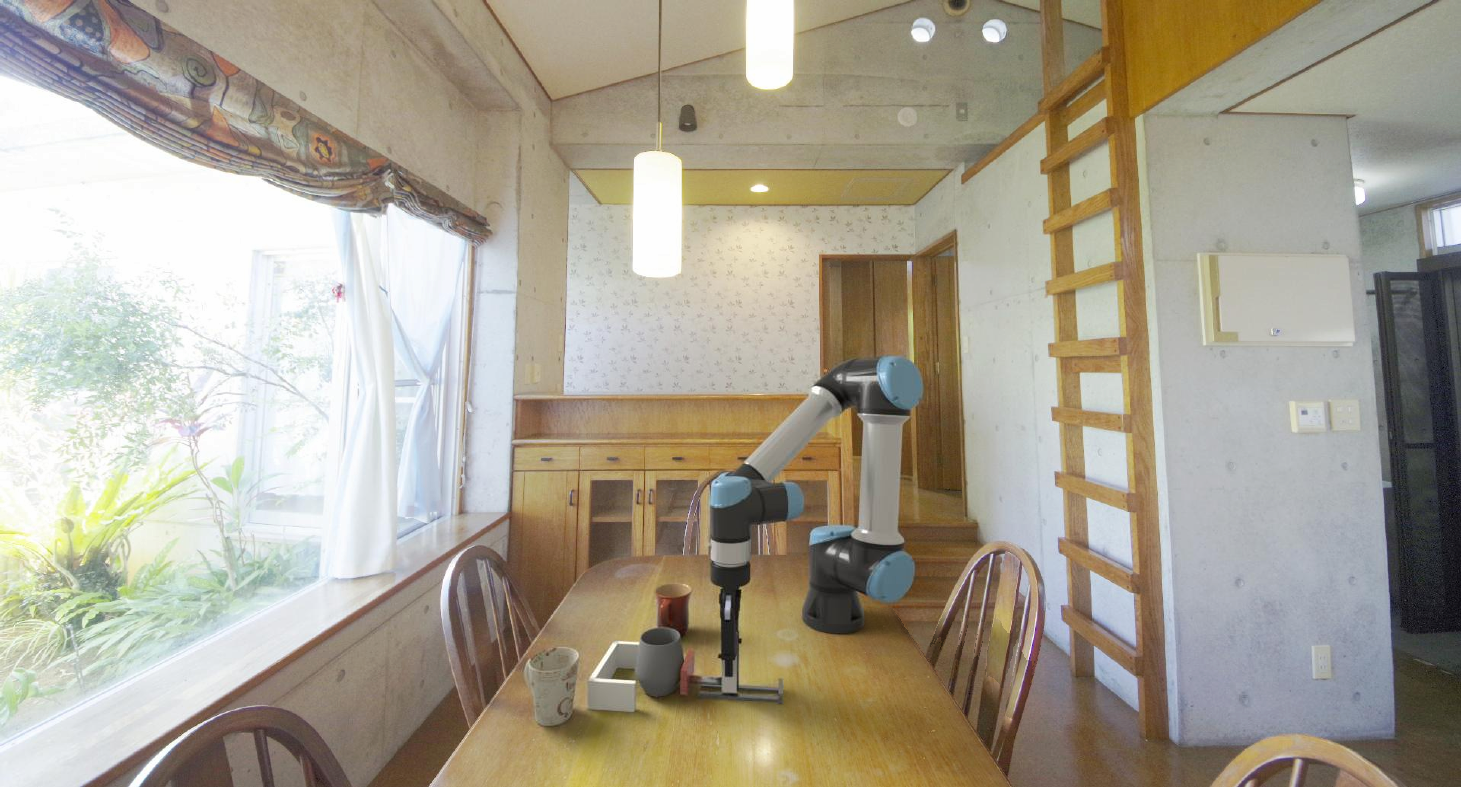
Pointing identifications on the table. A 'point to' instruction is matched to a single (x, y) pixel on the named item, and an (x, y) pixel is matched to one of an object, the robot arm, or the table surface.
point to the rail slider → (689, 678)
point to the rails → (745, 697)
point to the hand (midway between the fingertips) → (730, 685)
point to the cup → (659, 661)
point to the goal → (611, 691)
